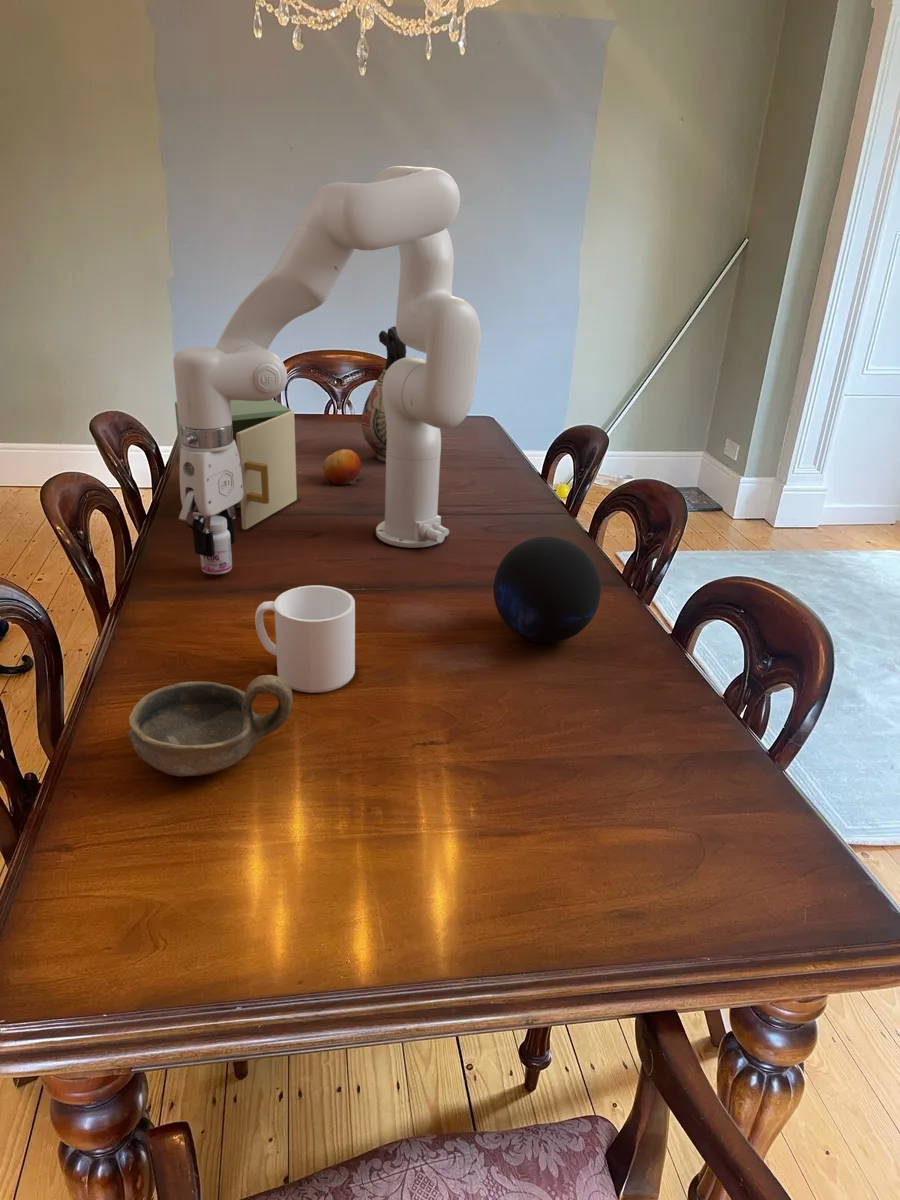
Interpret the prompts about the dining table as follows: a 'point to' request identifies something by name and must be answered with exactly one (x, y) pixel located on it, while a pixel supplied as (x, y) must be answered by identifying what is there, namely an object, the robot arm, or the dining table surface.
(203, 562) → the pill bottle
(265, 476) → the door
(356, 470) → the fruit
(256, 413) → the cupboard
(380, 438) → the ceramic jug
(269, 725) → the bowl
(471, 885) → the dining table surface
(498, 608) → the decorative sphere
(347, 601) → the mug
